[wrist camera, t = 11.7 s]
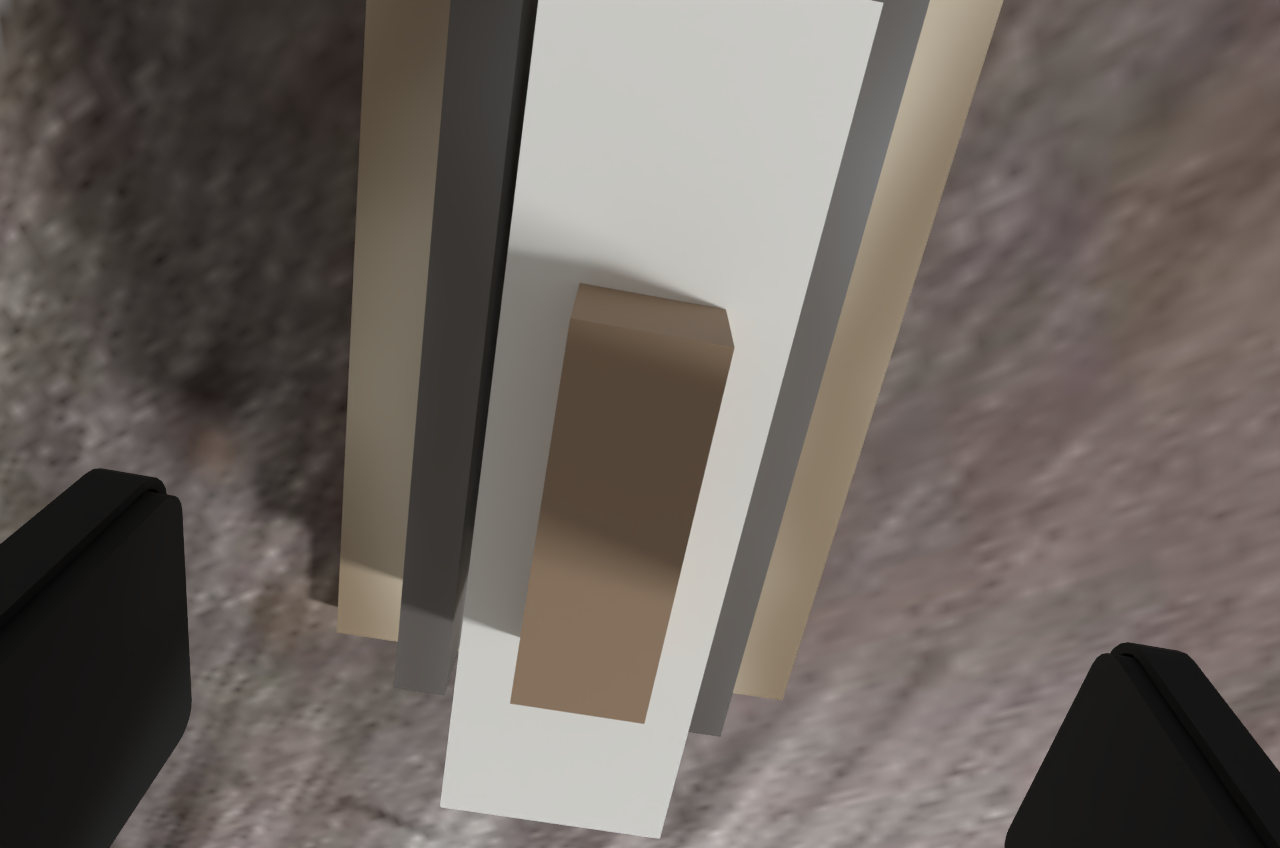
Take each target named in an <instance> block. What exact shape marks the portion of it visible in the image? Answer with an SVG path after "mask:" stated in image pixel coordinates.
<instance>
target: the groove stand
mask: <svg viewBox="0 0 1280 848" xmlns="http://www.w3.org/2000/svg"><path fill="white" fill-rule="evenodd" d="M872 1H877V2H882V3H883V7H882V11H881V15H880V18H879V22H878V26H877V29H876V33H875V37H874V41H873V44H872V48H871V52H870V56H869V59H868V63H867V67H866V71H865V74H864V78H863V82H862V85H861V89H860V93H859V97H858V100H857V104H856V108H855V112H854V115H853V119H852V123H851V126H850V130H849V134H848V138H847V141H846V145H845V149H844V153H843V156H842V160H841V164H840V168H839V171H838V175H837V179H836V182H835V186H834V190H833V194H832V197H831V201H830V205H829V209H828V212H827V216H826V220H825V224H824V227H823V231H822V235H821V238H820V242H819V246H818V250H817V253H816V257H815V261H814V265H813V268H812V272H811V276H810V279H809V283H808V287H807V291H806V294H805V298H804V302H803V306H802V309H801V313H800V317H799V321H798V324H797V328H796V332H795V335H794V339H793V343H792V347H791V350H790V354H789V358H788V362H787V365H786V369H785V373H784V377H783V380H782V384H781V388H780V391H779V395H778V399H777V403H776V406H775V410H774V414H773V418H772V421H771V425H770V429H769V432H768V436H767V440H766V444H765V447H764V451H763V455H762V459H761V462H760V466H759V470H758V474H757V477H756V481H755V485H754V488H753V492H752V496H751V500H750V503H749V507H748V511H747V515H746V518H745V522H744V526H743V530H742V533H741V537H740V541H739V544H738V548H737V552H736V556H735V559H734V563H733V567H732V571H731V574H730V578H729V582H728V585H727V589H726V593H725V597H724V600H723V604H722V608H721V612H720V615H719V619H718V623H717V627H716V630H715V634H714V638H713V641H712V645H711V649H710V653H709V656H708V660H707V664H706V668H705V671H704V675H703V679H702V682H701V686H700V690H699V694H698V697H697V701H696V705H695V709H694V712H693V716H692V720H691V724H690V727H689V731H688V732H693V733H700V734H706V735H713V736H721V732H722V729H723V725H724V722H725V718H726V715H727V711H728V708H729V704H730V701H731V697H732V694H733V693H737V694H744V695H750V696H757V697H763V698H770V699H777V700H782V699H783V696H784V693H785V690H786V687H787V684H788V680H789V677H790V674H791V671H792V668H793V665H794V661H795V658H796V655H797V652H798V649H799V646H800V642H801V639H802V636H803V633H804V630H805V627H806V623H807V620H808V617H809V614H810V611H811V608H812V604H813V601H814V598H815V595H816V592H817V589H818V585H819V582H820V579H821V576H822V573H823V570H824V566H825V563H826V560H827V557H828V554H829V551H830V548H831V544H832V541H833V538H834V535H835V532H836V529H837V525H838V522H839V519H840V516H841V513H842V510H843V506H844V503H845V500H846V497H847V494H848V491H849V487H850V484H851V481H852V478H853V475H854V472H855V468H856V465H857V462H858V459H859V456H860V453H861V449H862V446H863V443H864V440H865V437H866V434H867V430H868V427H869V424H870V421H871V418H872V415H873V411H874V408H875V405H876V402H877V399H878V396H879V392H880V389H881V386H882V383H883V380H884V377H885V373H886V370H887V367H888V364H889V361H890V358H891V354H892V351H893V348H894V345H895V342H896V339H897V335H898V332H899V329H900V326H901V323H902V320H903V316H904V313H905V310H906V307H907V304H908V301H909V297H910V294H911V291H912V288H913V285H914V282H915V278H916V275H917V272H918V269H919V266H920V263H921V259H922V256H923V253H924V250H925V247H926V244H927V240H928V237H929V234H930V231H931V228H932V225H933V221H934V218H935V215H936V212H937V209H938V206H939V202H940V199H941V196H942V193H943V190H944V187H945V183H946V180H947V177H948V174H949V171H950V168H951V164H952V161H953V158H954V155H955V152H956V149H957V145H958V142H959V139H960V136H961V133H962V130H963V126H964V123H965V120H966V117H967V114H968V111H969V108H970V104H971V101H972V98H973V95H974V92H975V89H976V85H977V82H978V79H979V76H980V73H981V70H982V66H983V63H984V60H985V57H986V54H987V51H988V47H989V44H990V41H991V38H992V35H993V32H994V28H995V25H996V22H997V19H998V16H999V13H1000V9H1001V6H1002V3H1003V0H872ZM537 7H538V0H366V16H365V37H364V59H363V80H362V102H361V123H360V144H359V166H358V187H357V209H356V230H355V251H354V273H353V294H352V316H351V337H350V358H349V380H348V401H347V423H346V444H345V465H344V487H343V508H342V530H341V551H340V572H339V594H338V615H337V632H338V633H344V634H351V635H357V636H364V637H370V638H377V639H384V640H390V641H397V642H398V645H397V657H396V669H395V681H394V688H399V689H405V690H412V691H419V692H426V693H432V694H439V695H445V692H446V689H447V685H448V682H449V679H450V675H451V672H452V669H453V666H454V662H455V659H456V656H457V653H458V651H459V648H460V639H461V631H462V623H463V615H464V606H465V598H466V590H467V582H468V574H469V565H470V557H471V549H472V541H473V533H474V524H475V516H476V508H477V500H478V492H479V483H480V475H481V467H482V459H483V450H484V442H485V434H486V426H487V418H488V409H489V401H490V393H491V385H492V377H493V368H494V360H495V352H496V344H497V336H498V327H499V319H500V311H501V303H502V294H503V286H504V278H505V270H506V262H507V253H508V245H509V237H510V229H511V221H512V212H513V204H514V196H515V188H516V180H517V171H518V163H519V155H520V147H521V138H522V130H523V122H524V114H525V106H526V97H527V89H528V81H529V73H530V65H531V56H532V48H533V40H534V32H535V24H536V15H537Z"/></svg>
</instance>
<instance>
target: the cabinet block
mask: <svg viewBox="0 0 1280 848" xmlns="http://www.w3.org/2000/svg"><path fill="white" fill-rule="evenodd" d="M882 7H883V3H882V2H877V1H872V0H538V7H537V15H536V24H535V32H534V40H533V48H532V56H531V65H530V73H529V81H528V89H527V97H526V106H525V114H524V122H523V130H522V138H521V147H520V155H519V163H518V171H517V180H516V188H515V196H514V204H513V212H512V221H511V229H510V237H509V245H508V253H507V262H506V270H505V278H504V286H503V294H502V303H501V311H500V319H499V327H498V336H497V344H496V352H495V360H494V368H493V377H492V385H491V393H490V401H489V409H488V418H487V426H486V434H485V442H484V450H483V459H482V467H481V475H480V483H479V492H478V500H477V508H476V516H475V524H474V533H473V541H472V549H471V557H470V565H469V574H468V582H467V590H466V598H465V606H464V615H463V623H462V631H461V639H460V648H459V656H458V664H457V672H456V680H455V689H454V697H453V705H452V713H451V721H450V730H449V738H448V746H447V754H446V762H445V771H444V779H443V787H442V795H441V803H440V807H443V808H450V809H457V810H464V811H471V812H478V813H485V814H492V815H499V816H505V817H512V818H519V819H526V820H533V821H540V822H547V823H554V824H561V825H568V826H575V827H582V828H589V829H596V830H603V831H610V832H617V833H623V834H630V835H637V836H644V837H651V838H658V839H660V835H661V832H662V828H663V824H664V821H665V817H666V813H667V809H668V806H669V802H670V798H671V794H672V791H673V787H674V783H675V780H676V776H677V772H678V768H679V765H680V761H681V757H682V753H683V750H684V746H685V742H686V738H687V735H688V731H689V727H690V724H691V720H692V716H693V712H694V709H695V705H696V701H697V697H698V694H699V690H700V686H701V682H702V679H703V675H704V671H705V668H706V664H707V660H708V656H709V653H710V649H711V645H712V641H713V638H714V634H715V630H716V627H717V623H718V619H719V615H720V612H721V608H722V604H723V600H724V597H725V593H726V589H727V585H728V582H729V578H730V574H731V571H732V567H733V563H734V559H735V556H736V552H737V548H738V544H739V541H740V537H741V533H742V530H743V526H744V522H745V518H746V515H747V511H748V507H749V503H750V500H751V496H752V492H753V488H754V485H755V481H756V477H757V474H758V470H759V466H760V462H761V459H762V455H763V451H764V447H765V444H766V440H767V436H768V432H769V429H770V425H771V421H772V418H773V414H774V410H775V406H776V403H777V399H778V395H779V391H780V388H781V384H782V380H783V377H784V373H785V369H786V365H787V362H788V358H789V354H790V350H791V347H792V343H793V339H794V335H795V332H796V328H797V324H798V321H799V317H800V313H801V309H802V306H803V302H804V298H805V294H806V291H807V287H808V283H809V279H810V276H811V272H812V268H813V265H814V261H815V257H816V253H817V250H818V246H819V242H820V238H821V235H822V231H823V227H824V224H825V220H826V216H827V212H828V209H829V205H830V201H831V197H832V194H833V190H834V186H835V182H836V179H837V175H838V171H839V168H840V164H841V160H842V156H843V153H844V149H845V145H846V141H847V138H848V134H849V130H850V126H851V123H852V119H853V115H854V112H855V108H856V104H857V100H858V97H859V93H860V89H861V85H862V82H863V78H864V74H865V71H866V67H867V63H868V59H869V56H870V52H871V48H872V44H873V41H874V37H875V33H876V29H877V26H878V22H879V18H880V15H881V11H882Z"/></svg>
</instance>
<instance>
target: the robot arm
mask: <svg viewBox="0 0 1280 848" xmlns="http://www.w3.org/2000/svg"><path fill="white" fill-rule="evenodd" d="M191 702H192V698H191V677H190V657H189V637H188V617H187V597H186V576H185V556H184V536H183V516H182V506H181V503H180V500H179V498H177V497H175V496H172V495H167V493H166V488H165V486H164V484H163V482H162V481H161V480H159V479H158V478H155V477H149V476H143V475H137V474H131V473H125V472H119V471H113V470H108V469H102V468H101V469H93V470H91V471H90V472H88V473H86V474H85V475H84V476H82V477H81V478H80V479H79V480H78V481H76V482H75V483H74V484H73V485H71V486H70V487H69V488H68V489H67V490H65V491H64V492H63V493H62V494H61V495H59V496H58V497H57V498H56V499H55V500H53V501H52V502H51V503H50V504H48V505H47V506H46V507H45V508H44V509H42V510H41V511H40V512H39V513H38V514H36V515H35V516H34V517H33V518H32V519H30V520H29V521H28V522H27V523H25V524H24V525H23V526H22V527H21V528H19V529H18V530H17V531H16V532H15V533H13V534H12V535H11V536H10V537H8V538H7V539H6V540H5V541H4V542H2V543H1V544H0V848H110V846H111V845H112V843H113V842H114V840H115V839H116V837H117V835H118V834H119V832H120V831H121V829H122V828H123V826H124V825H125V823H126V822H127V820H128V819H129V817H130V816H131V814H132V813H133V811H134V810H135V808H136V807H137V805H138V804H139V802H140V800H141V799H142V797H143V796H144V794H145V793H146V791H147V790H148V788H149V787H150V785H151V784H152V782H153V781H154V779H155V778H156V776H157V775H158V773H159V772H160V770H161V768H162V767H163V765H164V764H165V762H166V761H167V759H168V758H169V756H170V755H171V753H172V752H173V750H174V749H175V747H176V746H177V744H178V743H179V741H180V739H181V737H182V736H183V734H184V731H185V729H186V726H187V723H188V720H189V717H190V712H191ZM1005 848H1280V772H1279V771H1278V769H1277V768H1276V767H1275V765H1274V764H1273V763H1272V761H1271V760H1270V759H1269V758H1268V756H1267V755H1266V754H1265V752H1264V751H1263V750H1262V749H1261V747H1260V746H1259V745H1258V743H1257V742H1256V741H1255V739H1254V738H1253V737H1252V736H1251V734H1250V733H1249V732H1248V730H1247V729H1246V728H1245V726H1244V725H1243V724H1242V723H1241V721H1240V720H1239V719H1238V717H1237V716H1236V715H1235V713H1234V712H1233V711H1232V710H1231V708H1230V707H1229V706H1228V704H1227V703H1226V702H1225V700H1224V699H1223V698H1222V697H1221V695H1220V694H1219V693H1218V691H1217V690H1216V689H1215V688H1214V686H1213V685H1212V684H1211V682H1210V681H1209V680H1208V678H1207V677H1206V676H1205V675H1204V673H1203V672H1202V671H1201V669H1200V668H1199V667H1198V665H1197V664H1196V663H1195V662H1194V660H1192V659H1191V658H1190V657H1189V656H1188V655H1187V654H1186V653H1183V652H1180V651H1177V650H1171V649H1165V648H1159V647H1153V646H1147V645H1141V644H1135V643H1129V642H1127V643H1121V644H1119V645H1118V646H1116V647H1115V648H1114V649H1113V650H1112V651H1111V653H1110V654H1109V653H1106V654H1101V655H1100V656H1099V657H1097V658H1096V660H1095V661H1094V663H1093V664H1092V666H1091V668H1090V670H1089V672H1088V674H1087V676H1086V678H1085V680H1084V682H1083V684H1082V686H1081V688H1080V690H1079V692H1078V694H1077V696H1076V698H1075V700H1074V702H1073V704H1072V706H1071V708H1070V709H1069V711H1068V713H1067V715H1066V717H1065V719H1064V721H1063V723H1062V725H1061V727H1060V729H1059V731H1058V733H1057V735H1056V737H1055V739H1054V741H1053V743H1052V745H1051V747H1050V749H1049V751H1048V753H1047V755H1046V757H1045V759H1044V761H1043V763H1042V765H1041V767H1040V769H1039V771H1038V773H1037V774H1036V776H1035V778H1034V780H1033V782H1032V784H1031V786H1030V788H1029V790H1028V792H1027V794H1026V796H1025V798H1024V800H1023V802H1022V804H1021V806H1020V808H1019V810H1018V812H1017V814H1016V816H1015V818H1014V820H1013V822H1012V824H1011V826H1010V828H1009V830H1008V833H1007V835H1006V840H1005Z"/></svg>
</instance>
